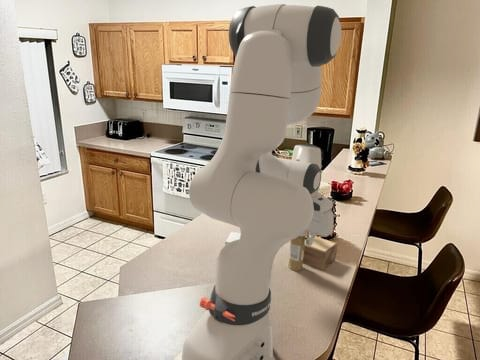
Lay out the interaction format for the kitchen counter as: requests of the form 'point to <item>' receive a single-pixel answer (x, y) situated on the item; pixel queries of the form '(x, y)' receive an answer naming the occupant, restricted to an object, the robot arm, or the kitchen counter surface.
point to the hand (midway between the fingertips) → (297, 240)
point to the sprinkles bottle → (297, 252)
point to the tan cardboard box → (320, 253)
